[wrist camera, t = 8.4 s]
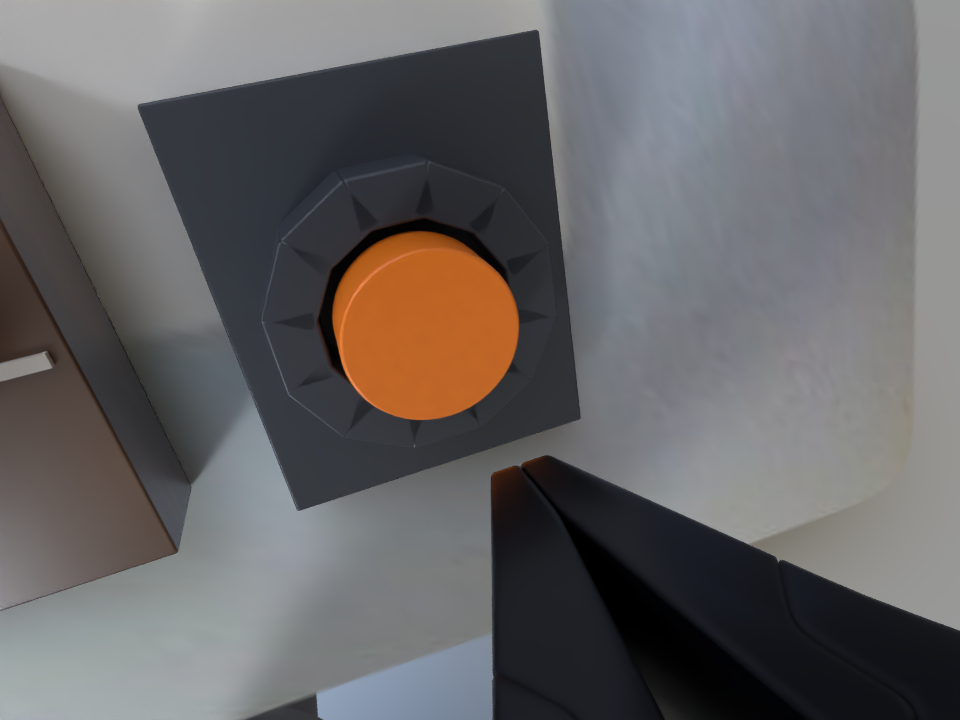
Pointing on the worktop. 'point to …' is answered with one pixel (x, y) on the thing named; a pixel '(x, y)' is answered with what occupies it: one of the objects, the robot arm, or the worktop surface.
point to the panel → (69, 413)
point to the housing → (372, 240)
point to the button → (424, 325)
